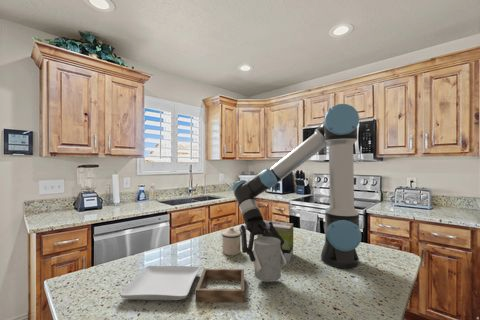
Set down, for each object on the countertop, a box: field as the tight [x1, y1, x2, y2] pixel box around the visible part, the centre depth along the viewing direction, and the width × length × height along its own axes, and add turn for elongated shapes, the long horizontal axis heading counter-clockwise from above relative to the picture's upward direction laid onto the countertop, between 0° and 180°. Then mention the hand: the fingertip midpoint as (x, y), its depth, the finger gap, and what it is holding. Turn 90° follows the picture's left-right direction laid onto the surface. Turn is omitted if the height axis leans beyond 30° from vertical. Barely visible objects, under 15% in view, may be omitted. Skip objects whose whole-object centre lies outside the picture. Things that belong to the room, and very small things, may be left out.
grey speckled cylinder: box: [253, 237, 282, 283], centre depth 86 cm, size 10×10×12 cm
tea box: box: [256, 219, 294, 263], centre depth 111 cm, size 15×10×15 cm, turn 68°
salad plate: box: [119, 265, 201, 301], centre depth 82 cm, size 21×21×3 cm
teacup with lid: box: [221, 227, 241, 256], centre depth 116 cm, size 12×9×12 cm
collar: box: [195, 268, 245, 303], centre depth 81 cm, size 15×15×4 cm
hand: (272, 267), depth 83 cm, fingers closed on grey speckled cylinder, 9 cm apart
